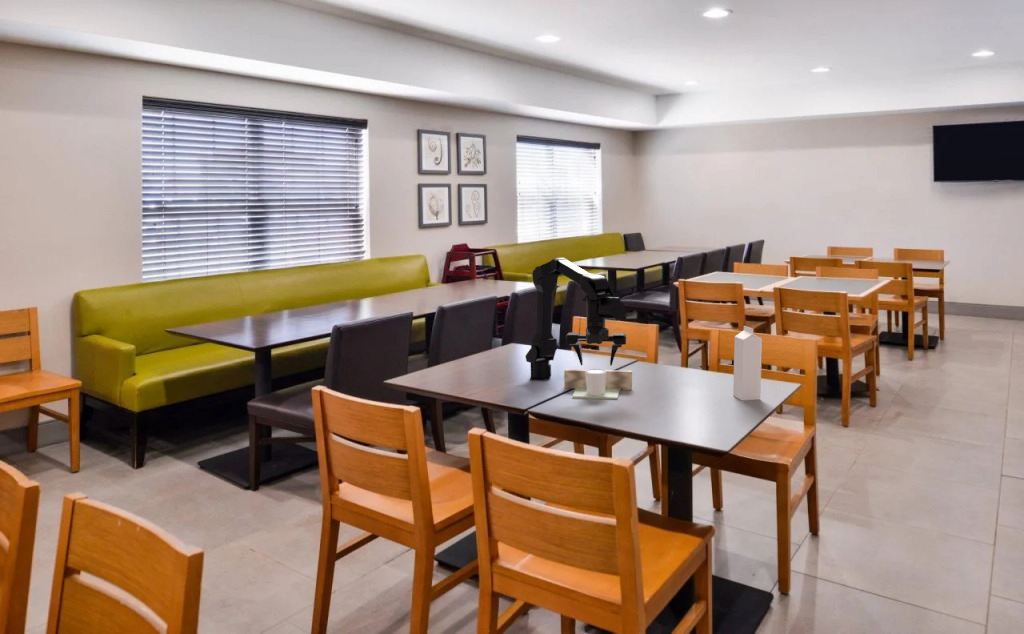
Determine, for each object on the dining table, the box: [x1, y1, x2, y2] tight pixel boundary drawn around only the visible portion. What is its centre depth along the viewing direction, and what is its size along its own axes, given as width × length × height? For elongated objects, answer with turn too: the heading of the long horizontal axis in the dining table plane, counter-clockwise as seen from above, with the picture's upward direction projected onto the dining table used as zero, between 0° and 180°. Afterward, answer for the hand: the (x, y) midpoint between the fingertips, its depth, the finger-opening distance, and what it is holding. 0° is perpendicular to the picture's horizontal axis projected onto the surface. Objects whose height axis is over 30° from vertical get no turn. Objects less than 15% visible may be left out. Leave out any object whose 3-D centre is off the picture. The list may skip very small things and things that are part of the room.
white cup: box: [585, 368, 607, 395], centre depth 230 cm, size 7×7×7 cm
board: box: [563, 368, 633, 391], centre depth 238 cm, size 22×2×6 cm, turn 79°
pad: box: [572, 388, 620, 400], centre depth 230 cm, size 14×10×1 cm
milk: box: [732, 325, 763, 402], centre depth 221 cm, size 6×6×22 cm
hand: (596, 365), depth 229 cm, fingers open, 9 cm apart
